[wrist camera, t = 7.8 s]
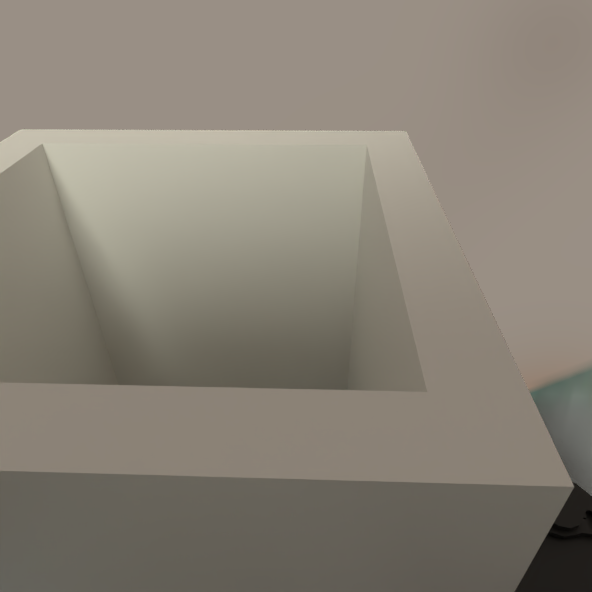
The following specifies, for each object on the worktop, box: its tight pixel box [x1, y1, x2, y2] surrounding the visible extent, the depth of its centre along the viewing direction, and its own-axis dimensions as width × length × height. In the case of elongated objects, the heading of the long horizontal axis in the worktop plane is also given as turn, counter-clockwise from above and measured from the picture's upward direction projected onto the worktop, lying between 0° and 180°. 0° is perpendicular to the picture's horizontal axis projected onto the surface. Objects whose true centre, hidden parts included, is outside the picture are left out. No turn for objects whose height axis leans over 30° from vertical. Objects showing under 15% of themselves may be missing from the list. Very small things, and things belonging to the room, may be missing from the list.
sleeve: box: [0, 129, 574, 592], centre depth 9 cm, size 7×7×10 cm
